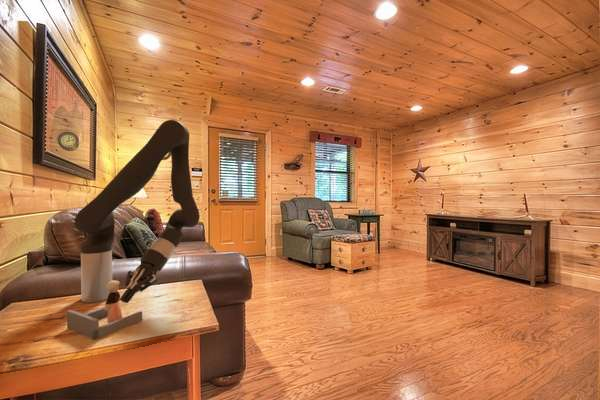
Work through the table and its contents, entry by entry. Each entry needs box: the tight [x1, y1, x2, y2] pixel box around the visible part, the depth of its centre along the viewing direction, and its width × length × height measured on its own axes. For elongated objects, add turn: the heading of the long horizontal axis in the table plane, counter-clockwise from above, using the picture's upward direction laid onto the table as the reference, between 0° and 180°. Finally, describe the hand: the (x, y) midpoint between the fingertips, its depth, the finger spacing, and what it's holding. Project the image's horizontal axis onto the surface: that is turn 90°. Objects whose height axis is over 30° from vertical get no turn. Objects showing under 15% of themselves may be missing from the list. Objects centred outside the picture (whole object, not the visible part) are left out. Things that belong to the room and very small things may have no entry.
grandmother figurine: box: [104, 279, 123, 324], centre depth 83 cm, size 8×4×13 cm, turn 18°
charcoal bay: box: [66, 306, 143, 341], centre depth 83 cm, size 14×13×5 cm
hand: (123, 301), depth 88 cm, fingers closed
